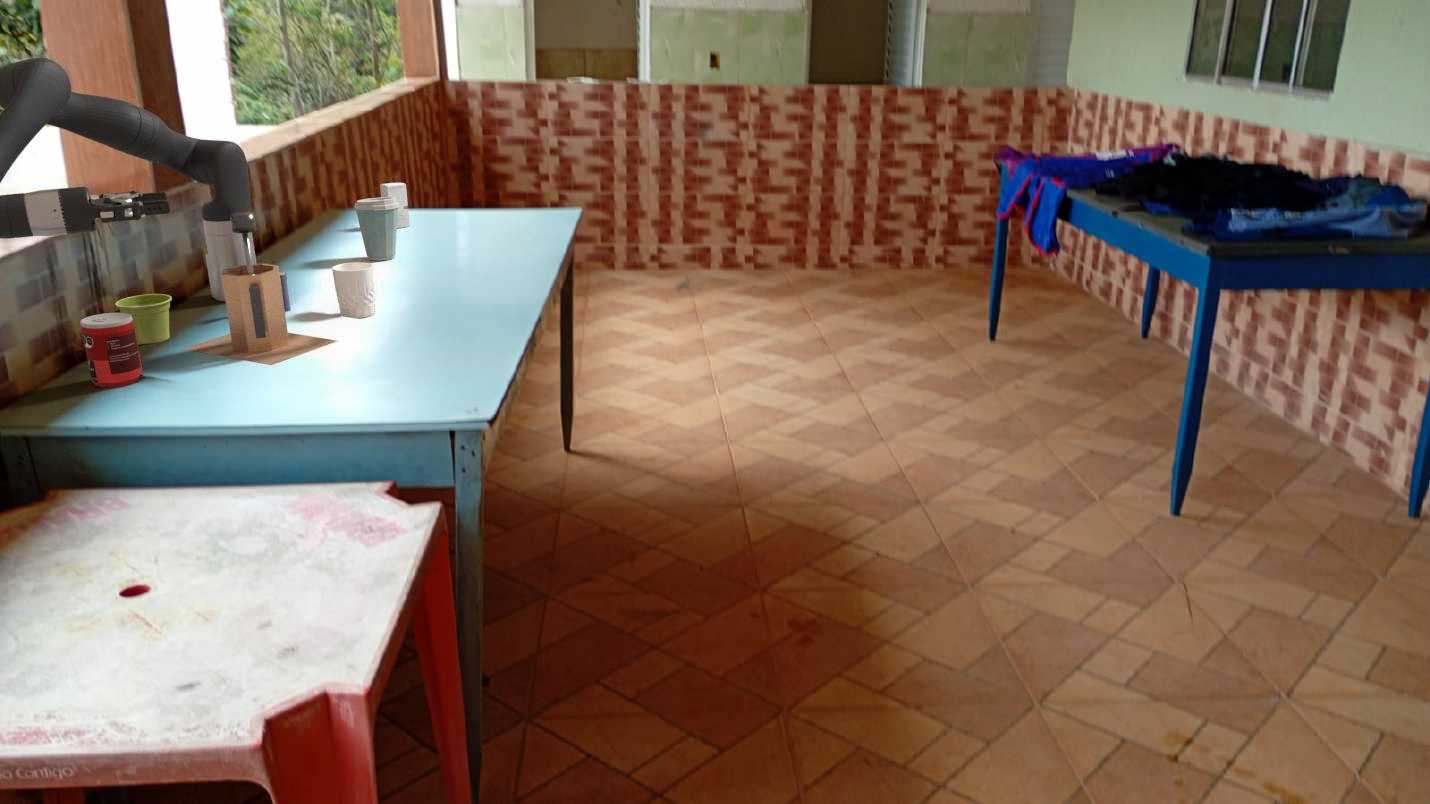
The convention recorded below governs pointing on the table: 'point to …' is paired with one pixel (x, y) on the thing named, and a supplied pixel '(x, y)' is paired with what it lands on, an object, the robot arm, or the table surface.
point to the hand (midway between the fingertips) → (167, 202)
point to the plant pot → (148, 316)
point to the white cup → (355, 289)
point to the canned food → (111, 349)
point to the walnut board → (294, 348)
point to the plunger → (244, 233)
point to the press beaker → (255, 308)
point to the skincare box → (401, 197)
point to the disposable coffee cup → (378, 226)
